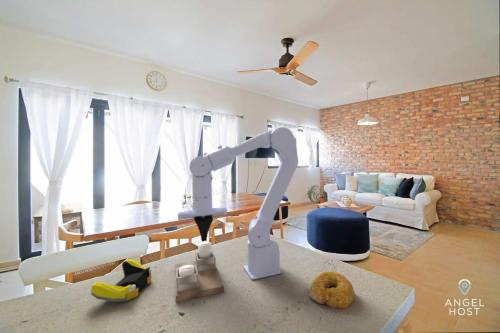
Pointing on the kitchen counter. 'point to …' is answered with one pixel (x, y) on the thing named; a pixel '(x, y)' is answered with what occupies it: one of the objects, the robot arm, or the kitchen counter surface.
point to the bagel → (332, 290)
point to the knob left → (186, 270)
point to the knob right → (204, 250)
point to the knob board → (198, 279)
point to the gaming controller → (124, 283)
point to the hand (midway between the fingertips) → (203, 240)
